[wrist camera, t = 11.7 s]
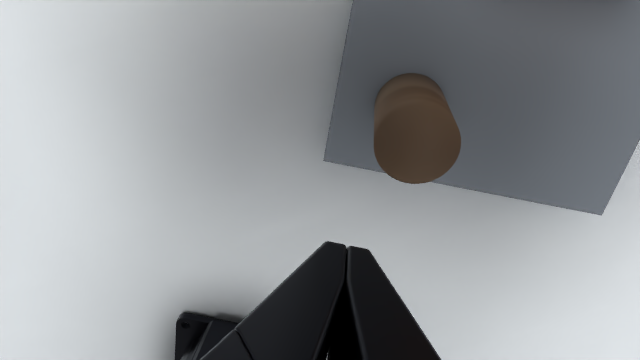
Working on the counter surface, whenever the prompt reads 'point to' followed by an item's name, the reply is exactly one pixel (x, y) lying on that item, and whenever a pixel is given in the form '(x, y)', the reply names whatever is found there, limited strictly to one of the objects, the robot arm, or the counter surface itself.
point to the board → (504, 90)
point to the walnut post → (414, 129)
